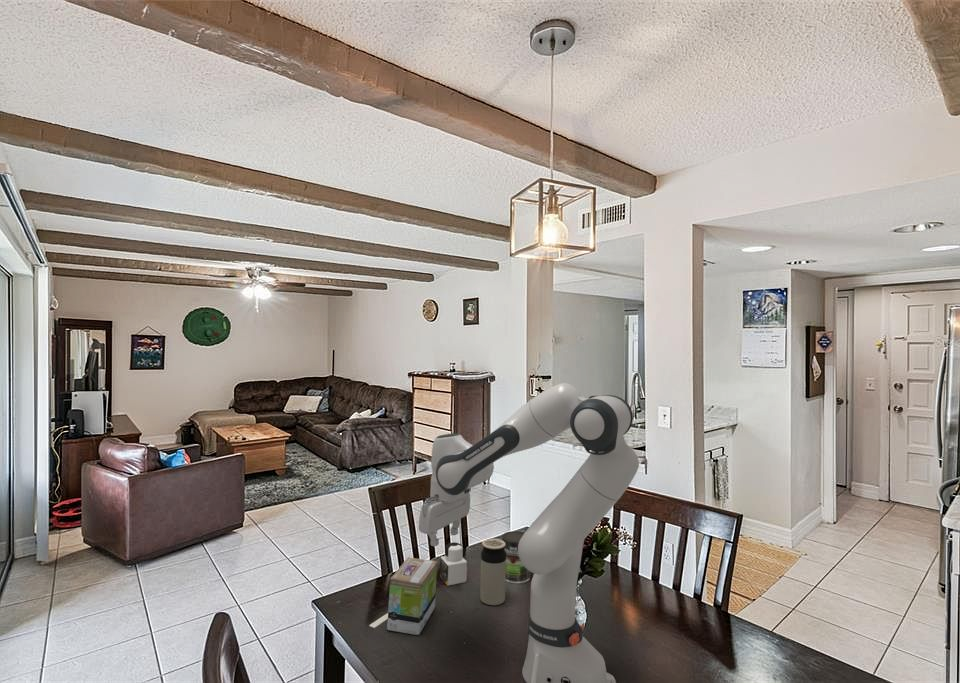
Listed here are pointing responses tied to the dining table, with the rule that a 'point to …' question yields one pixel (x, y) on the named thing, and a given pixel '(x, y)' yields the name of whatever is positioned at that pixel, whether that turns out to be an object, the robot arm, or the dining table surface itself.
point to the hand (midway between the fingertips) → (444, 539)
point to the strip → (379, 621)
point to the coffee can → (514, 559)
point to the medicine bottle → (453, 565)
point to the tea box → (412, 595)
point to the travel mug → (493, 572)
